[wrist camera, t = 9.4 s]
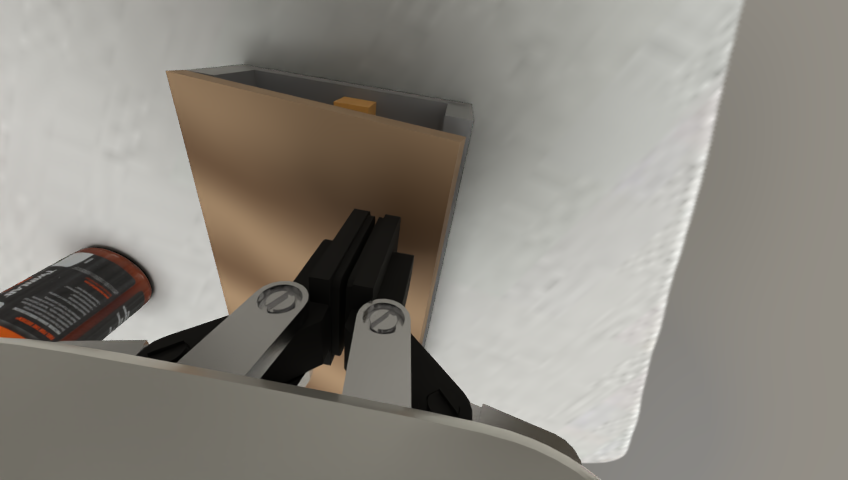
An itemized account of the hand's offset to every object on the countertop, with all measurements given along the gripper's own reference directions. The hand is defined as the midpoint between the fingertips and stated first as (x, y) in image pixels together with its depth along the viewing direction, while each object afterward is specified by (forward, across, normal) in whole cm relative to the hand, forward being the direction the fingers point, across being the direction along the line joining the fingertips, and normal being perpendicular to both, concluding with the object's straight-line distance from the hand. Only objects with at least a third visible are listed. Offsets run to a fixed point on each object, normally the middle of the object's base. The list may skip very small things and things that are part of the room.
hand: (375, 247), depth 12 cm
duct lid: (+3, +3, +6) cm, 7 cm away
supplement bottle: (+8, +22, +13) cm, 27 cm away
